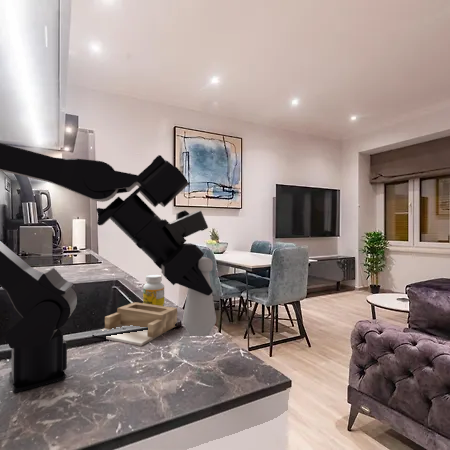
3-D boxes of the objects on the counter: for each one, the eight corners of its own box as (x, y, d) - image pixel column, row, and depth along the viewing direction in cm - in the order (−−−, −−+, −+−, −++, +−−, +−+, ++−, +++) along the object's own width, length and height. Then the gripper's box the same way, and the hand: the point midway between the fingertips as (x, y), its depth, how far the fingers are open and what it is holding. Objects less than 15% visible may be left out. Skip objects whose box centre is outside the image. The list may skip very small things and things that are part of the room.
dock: (141, 346, 59) (141, 325, 59) (91, 335, 64) (92, 316, 64) (177, 325, 71) (177, 308, 71) (133, 318, 76) (134, 302, 76)
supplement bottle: (168, 312, 81) (168, 275, 81) (151, 317, 77) (152, 278, 77) (155, 308, 85) (155, 273, 85) (138, 312, 81) (139, 275, 81)
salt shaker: (218, 327, 56) (219, 256, 56) (213, 339, 51) (215, 259, 51) (186, 326, 57) (187, 255, 57) (178, 337, 51) (180, 258, 51)
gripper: (190, 187, 44) (260, 264, 47) (171, 197, 61) (223, 253, 65) (130, 243, 41) (209, 320, 45) (128, 237, 59) (185, 292, 63)
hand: (207, 291), depth 54 cm, fingers closed on salt shaker, 3 cm apart
